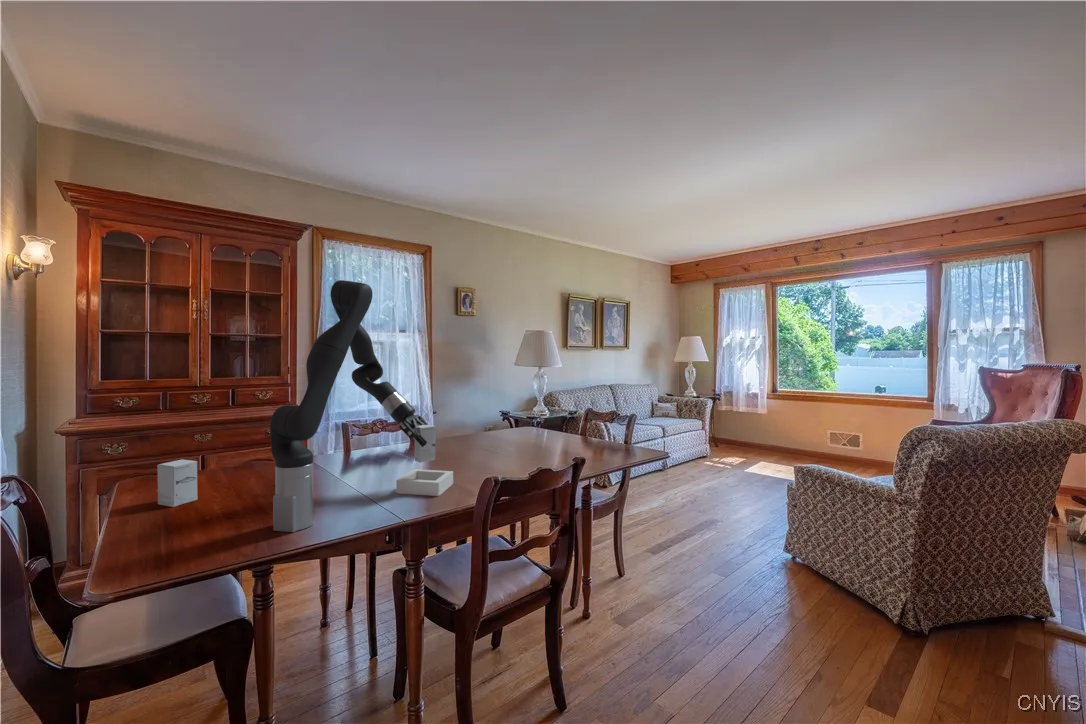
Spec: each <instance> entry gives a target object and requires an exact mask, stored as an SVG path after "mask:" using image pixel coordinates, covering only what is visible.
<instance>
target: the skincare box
mask: <svg viewBox="0 0 1086 724" xmlns="http://www.w3.org/2000/svg"><path fill="white" fill-rule="evenodd" d="M418 428H419V429H418V431H419V433H420V435H421V436H422V437H423V438H424V439H425V440H426V441H427V444H426V445H425V446H423V447H422V446H421V445H420V444H419V443H418V442H417V441H416V439H414V461H415V462H418V463H426V462H431V461H435V460H436V442H437V440H436V439H437V431H436V430H437V429H436V428H437V427H436V425H433V424H428V425H421V426H418Z"/></svg>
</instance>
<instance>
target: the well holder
mask: <svg viewBox="0 0 1086 724" xmlns="http://www.w3.org/2000/svg"><path fill="white" fill-rule="evenodd" d="M395 483H396V487H395V491H396V493H395V494H401V495H414V496H415V495H417V496H418V495H419V496H432V497H440V496H441V495H442V494H443V493H444V492H446V491H447V490H448V489H449V488H450V487H452V486H453V484H454V471H453V470H435V469H421V468H420V469H416V468H414V469H412V470H411V471H409V472H407V473H406V474H405V473H404V475H402V476H401V477H399V478H397V479H396V482H395Z"/></svg>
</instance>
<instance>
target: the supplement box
mask: <svg viewBox="0 0 1086 724" xmlns="http://www.w3.org/2000/svg"><path fill="white" fill-rule="evenodd" d="M194 501H198V461H197V460H190V459H179V460H172V461H168V462H163V463H160V464H157V505H160V506H166V507H171V508H175V507H179V506H180V505H183V504H188V503H191V502H194Z"/></svg>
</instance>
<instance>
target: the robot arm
mask: <svg viewBox="0 0 1086 724" xmlns="http://www.w3.org/2000/svg"><path fill="white" fill-rule="evenodd" d="M330 300H331V304H332V306H333V308H334V311H335V314H336V315H337V317H338V320H339V321H338V322H336V323H335V324H333V325H332V326H331V327H330V328H328V329H327V330H325V331H324V332H323V333H321V334H320V336H318V337H317V338H316V339H315V341H314V342H313V345H312V347H311V349H310V351H309V353H308V356H307V359H306V363H305V364H306V375H307V386H306V390H305V393H304V395H303V398H302V400H301V402H300V404H299V405H291V404H285V405H282V406H279V407H278V408H276V409H275V410H274V412H273V413H272V415H271V418H270V421H269V422H270V424H269V425H270V426H269V430H270V432H269V433H270V435H269V436H270V445H271V446H270V447H271V450H270V451H271V455H272V457H273V459H274V467H275V471H274V473H275V478H274V479H275V483H274V485H275V495H273V497H272V502H273V503H272V505H273V506H272V507H273V508H272V510H273V511H272V516H273V518H272V521H273V529H272V530H273V531H274V532H285V533H296V532H297V531H300V530H304V529H307V528H309V527H311V526H312V525H314V524H315V523H314V521H315V520H314V509H315V508H314V454H313V451H311V450H310V449H308V448H307V447H306V446H305V445H304V443H303V441H308V440H310V439H311V438H313V437H314V436H315V434H316V432H317V431H318V429H319V428H320V426H321V422H322V419H323V415H324V412H325V409H326V406H327V403H328V399H329V396H330V394H331V391H332V389H333V386H334V384H335V381H336V379H337V376H338V375H339V372H340V369H341V368H342V365H343V363H344V361H345V358H346V356H347V353H348V351H349V348H350V352H351V355H352V359H353V361H354V363H355V364H357V365H360V366H359V367H357V368H355V369H354V370H353V371H352V372H351V379H352V381H353V382H354V384H355V385H356V386H357V387H359V388H360V389H362V390H363V391H365V392H366V393H368V394H370V395H371V396H372V397H374V398H375V399H376V401H378V402H379V404H380V405H381V406H382V408H383V409H384V410H385V411H386V413H387V414H388V415H389V416H390V417H391V418H392V419H393V421H394V422H395V423H396V424H397V425H398V426H399V429H400V430H401V431H402V432H403V433H404V434H405V435H406V436H407V437H408V438H409V439H410V440H412V439H413V440H415V439H416V441H417V442H418V443H419V444H420V445H421V446H422V447H423V446H425V445H426V444H427V441H426V440H425V439H424V438H423V437H422V436H421V435H420V433H419V431H418V429H419V428H418V426H421V425H429V424H428V422H426V420H425V419H424V418H423V417H422V416H421V415H418V417H417V416H416V415H414V414H415V412H416V410H415V408H414V406H412V405H411V404H410V403H409V401H408V400H407V399H406V398H405V396H403V395H402V394H401V393H399V391H398V390H397V389H396V388H395V387H394V386H393V385H392V383H390V382H388V381H381V382H379V383H375V382H376V381H378V380H380V379H381V378H382V376H383V374H384V368H383V367H382V365H381V363H380V362H379V360H378V358H377V356H376V355H375V352H374V351H375V350H374V347H373V341H372V339H371V336H370V334H369V333H368V332H367V330H366V329H365V328H364V327H363V325H362V324H361V323H362V322H363V320H364V318H365V316H366V315H367V313H368V311H369V309H370V307H371V304H372V300H373V289H372V287H371V285H369V284H367V283H364V282H357V281H353V280H352V281H351V280H345V279H344V280H342V279H339V280H336V281H335V282H334V283H333V285H332V286H331V288H330Z"/></svg>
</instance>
